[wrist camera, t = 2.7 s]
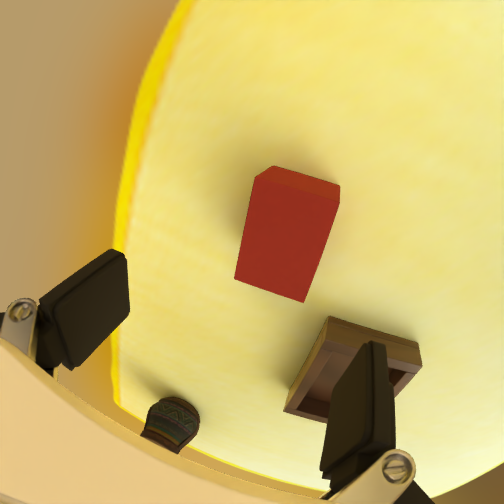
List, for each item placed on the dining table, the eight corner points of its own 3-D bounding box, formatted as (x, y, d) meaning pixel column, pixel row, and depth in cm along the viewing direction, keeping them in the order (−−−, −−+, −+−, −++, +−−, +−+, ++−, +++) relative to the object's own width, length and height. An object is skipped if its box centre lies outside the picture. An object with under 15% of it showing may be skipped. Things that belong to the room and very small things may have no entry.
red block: (272, 165, 18) (254, 176, 14) (340, 185, 17) (339, 202, 14) (252, 251, 21) (233, 279, 18) (311, 271, 20) (303, 303, 17)
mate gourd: (202, 400, 33) (167, 461, 24) (209, 426, 36) (182, 479, 27) (155, 384, 35) (118, 436, 26) (167, 412, 38) (137, 459, 29)
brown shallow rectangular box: (328, 315, 21) (325, 339, 19) (418, 342, 20) (422, 366, 18) (289, 390, 27) (282, 411, 24) (362, 410, 25) (360, 431, 23)
